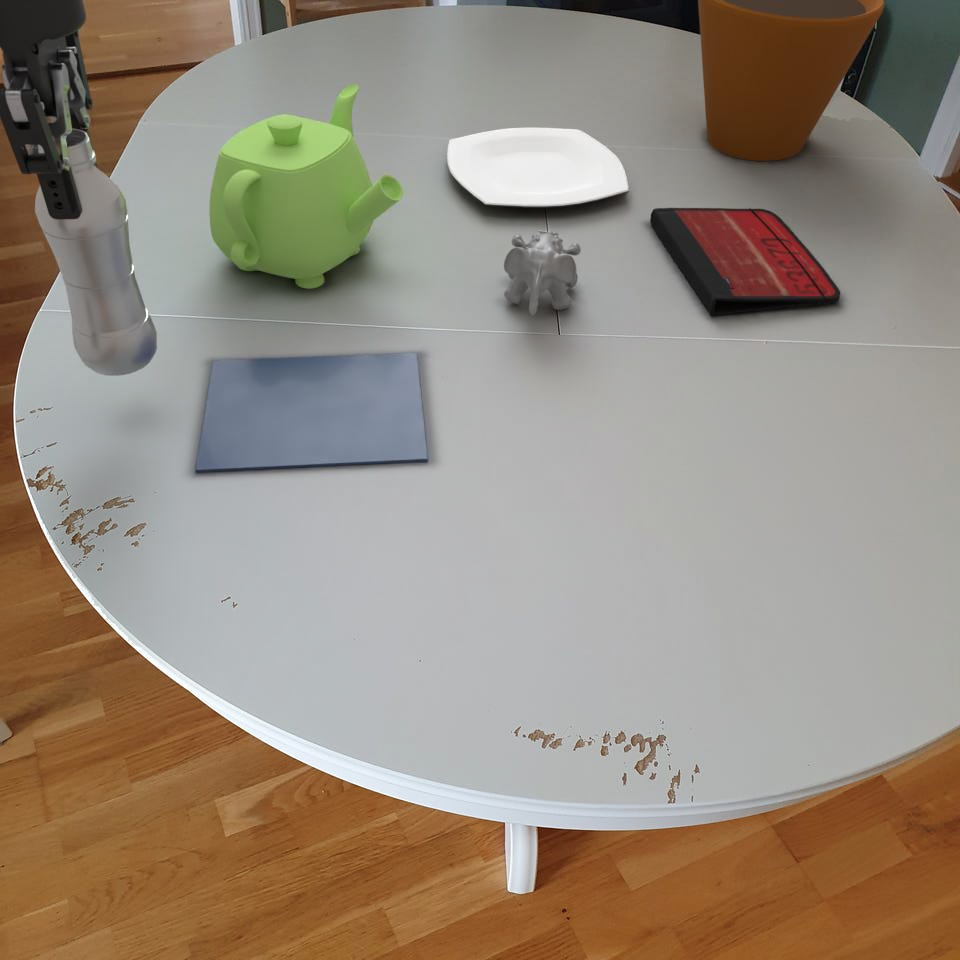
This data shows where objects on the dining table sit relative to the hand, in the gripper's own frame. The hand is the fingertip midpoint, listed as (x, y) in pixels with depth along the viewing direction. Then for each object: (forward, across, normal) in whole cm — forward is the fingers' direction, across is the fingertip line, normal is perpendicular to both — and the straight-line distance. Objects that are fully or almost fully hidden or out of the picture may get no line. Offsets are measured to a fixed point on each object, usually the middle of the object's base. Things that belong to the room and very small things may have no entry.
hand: (75, 195), depth 71 cm
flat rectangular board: (+22, 0, +16) cm, 27 cm away
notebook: (+22, -24, +65) cm, 73 cm away
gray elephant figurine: (+22, -16, +40) cm, 48 cm away
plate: (+22, -47, +44) cm, 68 cm away
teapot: (+22, -28, +17) cm, 39 cm away
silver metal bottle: (+16, 0, 0) cm, 16 cm away
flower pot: (+22, -58, +78) cm, 100 cm away
